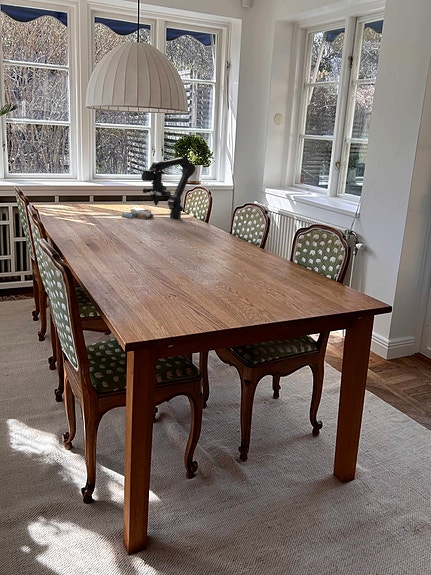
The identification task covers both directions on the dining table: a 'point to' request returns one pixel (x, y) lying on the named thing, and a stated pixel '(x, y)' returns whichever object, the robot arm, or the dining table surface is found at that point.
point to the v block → (129, 215)
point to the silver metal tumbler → (141, 211)
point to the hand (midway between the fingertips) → (156, 205)
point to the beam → (143, 216)
